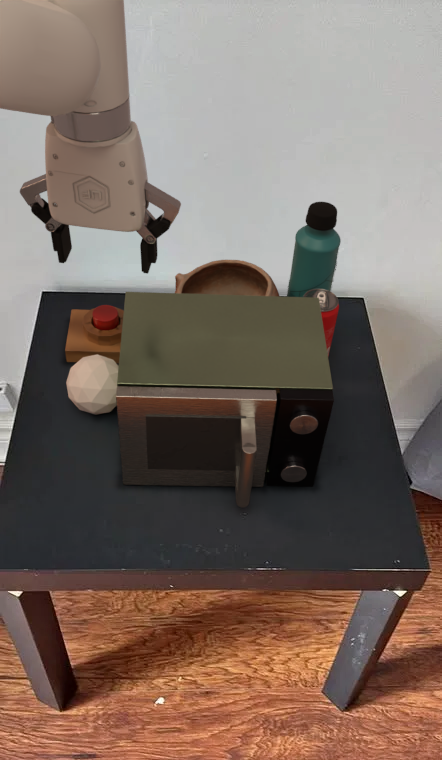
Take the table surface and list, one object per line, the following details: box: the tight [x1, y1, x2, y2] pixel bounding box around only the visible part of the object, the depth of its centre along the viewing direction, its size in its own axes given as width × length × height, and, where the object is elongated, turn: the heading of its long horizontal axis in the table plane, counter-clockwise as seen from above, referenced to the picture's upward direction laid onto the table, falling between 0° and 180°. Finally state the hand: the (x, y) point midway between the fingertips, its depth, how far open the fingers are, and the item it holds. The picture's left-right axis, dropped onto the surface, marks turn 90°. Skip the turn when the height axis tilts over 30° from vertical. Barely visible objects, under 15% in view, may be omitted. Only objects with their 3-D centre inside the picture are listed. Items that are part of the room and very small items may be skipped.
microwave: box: [117, 291, 335, 487], centre depth 93 cm, size 18×24×16 cm
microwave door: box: [116, 386, 277, 508], centre depth 87 cm, size 7×18×16 cm, turn 91°
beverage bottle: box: [286, 201, 342, 297], centre depth 107 cm, size 6×7×20 cm
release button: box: [92, 304, 119, 330], centre depth 106 cm, size 4×4×2 cm
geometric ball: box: [65, 354, 119, 415], centre depth 99 cm, size 8×8×8 cm
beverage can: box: [303, 289, 340, 357], centre depth 104 cm, size 5×5×12 cm
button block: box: [64, 306, 124, 364], centre depth 108 cm, size 9×11×4 cm
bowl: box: [174, 259, 280, 296], centre depth 108 cm, size 16×16×10 cm
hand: (106, 260), depth 86 cm, fingers open, 9 cm apart
